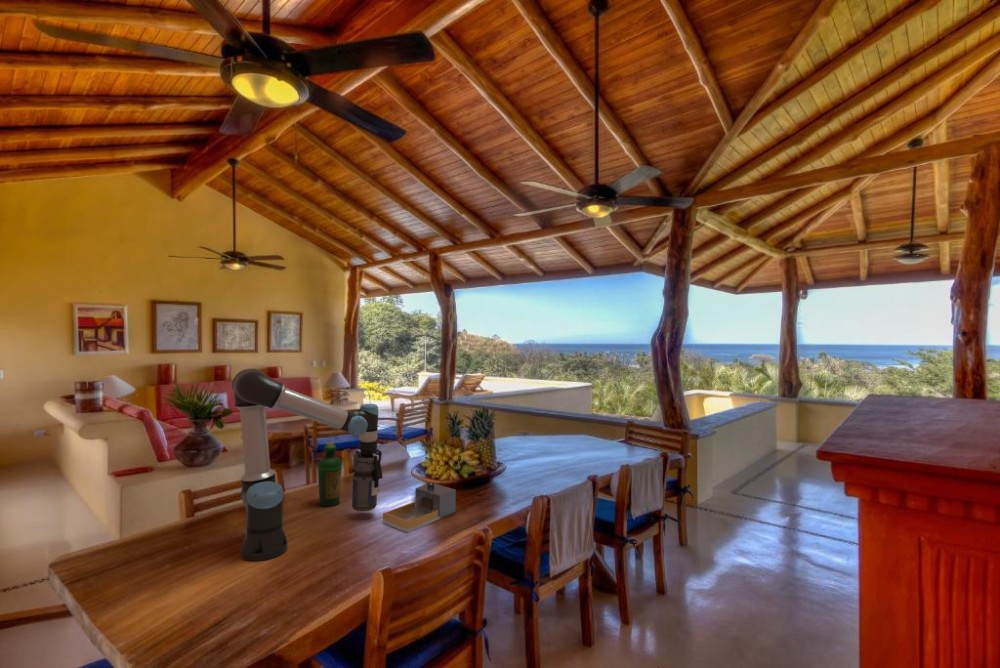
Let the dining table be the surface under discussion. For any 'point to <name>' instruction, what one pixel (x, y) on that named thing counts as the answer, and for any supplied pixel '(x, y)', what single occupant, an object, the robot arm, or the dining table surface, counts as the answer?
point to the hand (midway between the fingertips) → (366, 492)
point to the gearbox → (423, 508)
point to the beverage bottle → (363, 483)
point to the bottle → (329, 476)
